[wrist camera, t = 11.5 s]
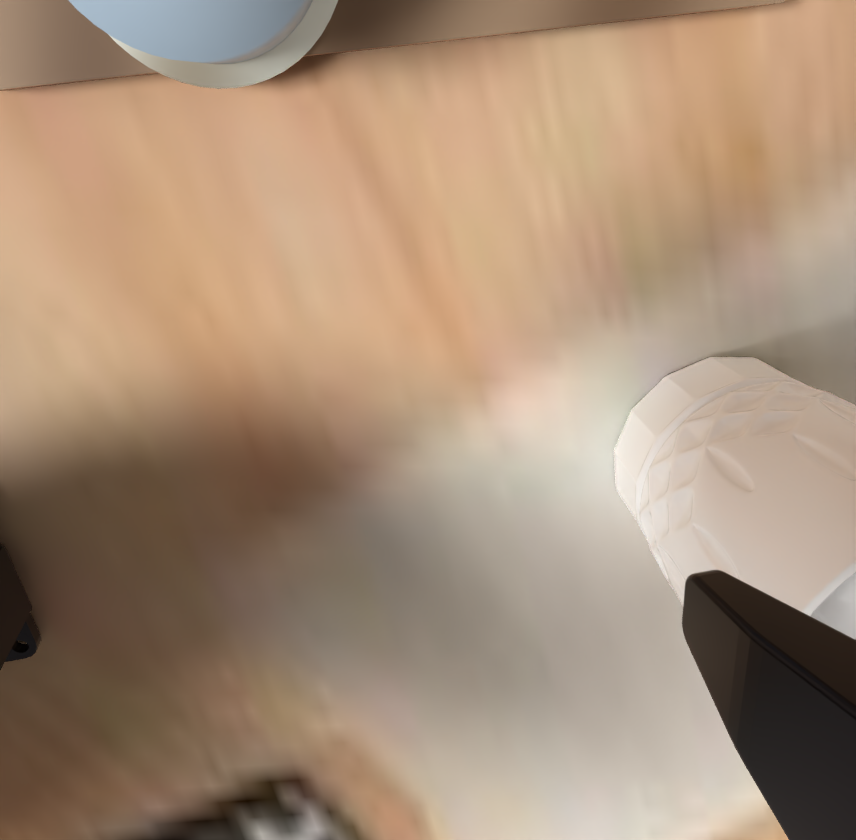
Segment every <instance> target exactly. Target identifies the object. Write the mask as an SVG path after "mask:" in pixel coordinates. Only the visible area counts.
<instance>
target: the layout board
mask: <svg viewBox="0 0 856 840" xmlns="http://www.w3.org/2000/svg"><path fill="white" fill-rule="evenodd" d="M783 2H784V0H313V1H312V3H311V6H310V7H309V9H308V11H307V13H306V14H305V16H304V18H303V19H302V21H301V22H300V23H299V25H298V26H297V27H296V29H295V30H294V31H293V32H292V33H291V34H290V35H289V36H288V37H287V38H286V39H285V40H284V41H283V42H282V43H280V44H279V45H277V46H276V47H275V48H273V49H272V50H270V51H268V52H266V53H264V54H263V55H261V56H259V57H256V58H253V59H250V60H247V61H243V62H238V63H232V64H208V63H199V62H189V61H180V60H171V59H167V58H162V57H158V56H154V55H151V54H148V53H145V52H143V51H140V50H137V49H135V48H132V47H130V46H128V45H126V44H125V43H123V42H121V41H119V40H117V39H115V38H113V37H112V36H110V35H109V34H107V33H106V32H104V31H103V30H102V29H100V28H99V27H97V26H96V25H94V24H93V23H92V22H91V21H90V20H88V19H87V18H86V17H85V16H84V15H83V14H82V13H80V12H79V11H78V10H77V9H76V8H75V7H74V6H73V5H72V4H71V3H70V2H69V1H68V0H0V91H2V90H11V89H20V88H29V87H38V86H47V85H56V84H65V83H73V82H82V81H91V80H100V79H109V78H118V77H127V76H136V75H145V74H154V73H160V74H162V75H164V76H166V77H169V78H172V79H174V80H177V81H180V82H182V83H186V84H191V85H195V86H199V87H207V88H217V89H221V88H238V87H243V86H249V85H254V84H257V83H259V82H262V81H265V80H268V79H270V78H272V77H274V76H276V75H278V74H280V73H282V72H284V71H285V70H287V69H288V68H289V67H291V66H292V65H294V64H295V63H296V62H298V61H299V60H300V59H301V58H302V57H307V56H316V55H325V54H334V53H343V52H352V51H361V50H370V49H379V48H388V47H396V46H405V45H414V44H423V43H432V42H441V41H450V40H459V39H468V38H477V37H486V36H495V35H504V34H513V33H522V32H531V31H540V30H549V29H558V28H567V27H576V26H585V25H594V24H603V23H612V22H621V21H630V20H639V19H648V18H657V17H666V16H675V15H684V14H693V13H702V12H711V11H720V10H728V9H737V8H746V7H755V6H764V5H770V4H777V3H783Z"/></svg>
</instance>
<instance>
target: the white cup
mask: <svg viewBox="0 0 856 840" xmlns="http://www.w3.org/2000/svg"><path fill="white" fill-rule="evenodd" d="M614 467H615V487H616V490H617V492H618V494H619V495H620V497H621V498H622V500H623V502H624V503H625V505H626V506H627V508H628V509H629V511H630V512H631V514H632V515H633V517H634V518H635V520H636V521H637V523H638V525H639V527H640V529H641V530H642V532H643V534H644V536H645V537H646V539H647V541H648V544H649V547H650V552H651V554H652V555H653V557H654V558H655V560H656V561H657V563H658V565H659V567H660V569H661V571H662V572H663V574H664V576H665V578H666V579H667V581H668V583H669V585H670V586H671V588H672V589H673V590H674V592H675V593H676V595H677V597H678V599H679V601H680V603H681V605H682V606H683V604H684V590H685V582H686V579H687V577H688V576H689V575H691V574H693V573H698V572H704V571H709V570H721V571H723V572H726V573H728V574H729V575H731V576H733V577H735V578H737V579H739V580H741V581H743V582H745V583H747V584H749V585H751V586H753V587H755V588H757V589H758V590H760V591H762V592H764V593H766V594H768V595H770V596H772V597H774V598H776V599H778V600H780V601H782V602H784V603H786V604H788V605H789V606H791V607H793V608H795V609H797V610H799V611H801V612H803V613H805V614H807V615H809V616H811V617H813V618H815V619H817V620H818V621H820V622H822V623H824V624H826V625H828V626H830V627H832V628H834V629H836V630H838V631H840V632H842V633H844V634H846V635H847V636H849V637H851V638H853V639H855V640H856V405H855V404H853V403H850V402H848V401H846V400H844V399H842V398H839V397H837V396H835V395H834V394H832V393H830V392H829V391H823V390H819V389H815V388H812V387H810V386H809V385H807V384H804V383H802V382H800V381H798V380H795V379H793V378H791V377H789V376H788V375H786V374H784V373H782V372H780V371H779V370H777V369H775V368H773V367H772V366H770V365H768V364H766V363H764V362H763V361H761V360H759V359H757V358H754V357H708V358H706V359H704V360H701V361H699V362H697V363H694V364H692V365H690V366H687V367H685V368H683V369H681V370H678V371H676V372H674V373H671V374H669V375H667V376H665V377H664V378H663V379H662V380H661V381H660V382H659V383H658V384H657V385H656V386H655V387H654V388H653V389H652V390H651V391H650V392H649V393H648V394H647V395H646V396H645V397H644V398H643V399H642V400H640V401H639V402H638V403H637V404H636V405H635V406H634V407H633V408H632V410H631V411H630V414H629V416H628V418H627V420H626V423H625V425H624V427H623V430H622V432H621V434H620V437H619V439H618V441H617V443H616V446H615V448H614Z"/></svg>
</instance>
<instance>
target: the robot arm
mask: <svg viewBox="0 0 856 840" xmlns="http://www.w3.org/2000/svg"><path fill="white" fill-rule="evenodd" d="M31 610H32V606H31V604H30V601H29V599H28V597H27V595H26V592H25V590H24V588H23V586H22V583H21V581H20V579H19V577H18V575H17V572H16V570H15V568H14V566H13V563H12V561H11V559H10V557H9V555H8V552H7V550H6V548H5V546H3V545H2V544H1V543H0V670H1V668H2V666H3V664H4V662H7V661H13V660H19V659H24V658H28V657H31V656H32V655H33V654H35V652H36V650H37V648H38V646H39V644H40V641H41V636H40V633H39V631H38V629H37V626H36V624H35V622H34V620H33V618H32V615H31V613H30V612H31ZM682 627H683V632H684V636H685V639H686V642H687V644H688V646H689V648H690V651H691V653H692V655H693V657H694V659H695V662H696V664H697V666H698V668H699V670H700V672H701V675H702V677H703V679H704V681H705V683H706V686H707V688H708V690H709V692H710V694H711V697H712V699H713V701H714V703H715V705H716V707H717V710H718V712H719V714H720V716H721V718H722V721H723V723H724V725H725V727H726V729H727V731H728V734H729V736H730V738H731V740H732V742H733V744H734V746H735V748H736V750H737V752H738V753H739V755H740V757H741V759H742V760H743V762H744V764H745V766H746V768H747V769H748V771H749V773H750V774H751V776H752V778H753V779H754V781H755V783H756V785H757V786H758V788H759V790H760V791H761V793H762V795H763V796H764V798H765V800H766V801H767V803H768V805H769V807H770V808H771V810H772V812H773V813H774V815H775V817H776V818H777V820H778V822H779V823H780V825H781V827H782V829H783V830H784V832H785V834H786V835H787V837H788V839H789V840H856V640H855V639H853V638H851V637H849V636H847V635H846V634H844V633H842V632H840V631H838V630H836V629H834V628H832V627H830V626H828V625H826V624H824V623H822V622H820V621H818V620H817V619H815V618H813V617H811V616H809V615H807V614H805V613H803V612H801V611H799V610H797V609H795V608H793V607H791V606H789V605H788V604H786V603H784V602H782V601H780V600H778V599H776V598H774V597H772V596H770V595H768V594H766V593H764V592H762V591H760V590H758V589H757V588H755V587H753V586H751V585H749V584H747V583H745V582H743V581H741V580H739V579H737V578H735V577H733V576H731V575H729V574H728V573H726V572H723V571H721V570H709V571H704V572H698V573H693V574H691V575H689V576H688V577H687V579H686V582H685V590H684V604H683V617H682ZM18 641H24V642H26V643H27V644H22V643H20V642H18Z"/></svg>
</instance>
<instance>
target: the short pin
mask: <svg viewBox="0 0 856 840" xmlns="http://www.w3.org/2000/svg"><path fill="white" fill-rule="evenodd" d="M68 1H69V2H70V3H71V4H72V5H73V6H74V7H75V8H76V9H77V10H78V11H79V12H80V13H82V14H83V15H84V16H85V17H86V18H87V19H88V20H90V21H91V22H92V23H93V24H94V25H96V26H97V27H99V28H100V29H102V30H103V31H104V32H106V33H107V34H109V35H110V36H112V37H113V38H115V39H117V40H119V41H121V42H123V43H125V44H126V45H128V46H130V47H132V48H135V49H137V50H140V51H143V52H145V53H148V54H151V55H154V56H158V57H162V58H167V59H171V60H180V61H189V62H199V63H208V64H232V63H238V62H243V61H247V60H250V59H253V58H256V57H259V56H261V55H263V54H264V53H266V52H268V51H270V50H272V49H273V48H275V47H276V46H277V45H279V44H280V43H282V42H283V41H284V40H285V39H286V38H287V37H288V36H289V35H290V34H291V33H292V32H293V31H294V30H295V29H296V27H297V26H298V25H299V23H300V22H301V21H302V19H303V18H304V16H305V14H306V13H307V11H308V9H309V7H310V6H311V3H312V1H313V0H68Z"/></svg>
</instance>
